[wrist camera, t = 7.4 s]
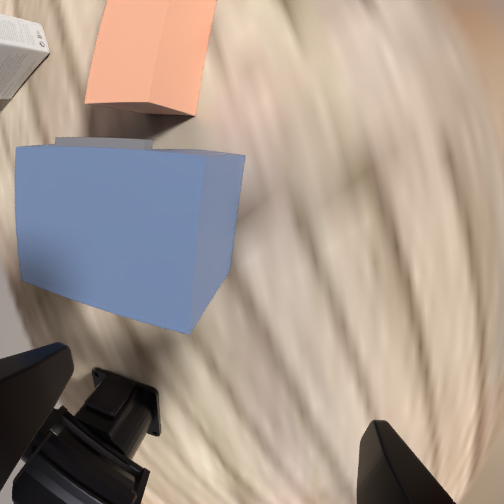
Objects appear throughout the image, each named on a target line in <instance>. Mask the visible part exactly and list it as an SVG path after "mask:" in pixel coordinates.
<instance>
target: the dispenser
mask: <svg viewBox="0 0 504 504" xmlns="http://www.w3.org/2000/svg"><path fill="white" fill-rule="evenodd" d="M152 145H153V140H147V139H129V138H101V137H56V139H55V144H48V145H33V146H21V147H16V156H15V218H16V234H17V246H18V256H19V264H20V272H21V279H22V281H24V282H27V283H29V284H32V285H34V286H37V287H40V288H42V289H45V290H47V291H50V292H53V293H55V294H58V295H61V296H64V297H66V298H69V299H72V300H75V301H78V302H81V303H84V304H87V305H90V306H93V307H96V308H99V309H102V310H105V311H108V312H111V313H114V314H117V315H121V316H124V317H127V318H130V319H134V320H137V321H140V322H144V323H147V324H151V325H154V326H158V327H162V328H165V329H169V330H173V331H176V332H180V333H184V334H188V335H190V333H191V331H192V330H193V328H194V327H195V325H196V323H197V322H198V320H199V319H200V317H201V315H202V314H203V312H204V311H205V309H206V307H207V306H208V304H209V303H210V301H211V300H212V298H213V296H214V295H215V293H216V292H217V290H218V288H219V287H220V285H221V284H222V282H223V281H224V279H225V277H226V276H227V274H228V273H229V271H230V265H231V257H232V249H233V242H234V234H235V227H236V219H237V212H238V205H239V197H240V190H241V183H242V176H243V169H244V162H245V155H238V154H231V153H223V152H215V151H206V150H190V149H152Z"/></svg>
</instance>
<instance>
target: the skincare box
mask: <svg viewBox="0 0 504 504" xmlns="http://www.w3.org/2000/svg"><path fill="white" fill-rule="evenodd" d="M49 53H50V51H49V47H48V43H47V40H46V37H45V34H44V31H43V28H42V25H41V24H39V23H35V22H31V21H27V20H23V19H19V18H16V17H11V16H7V15H3V14H0V99H11V98H12V97H13V95H14V94H15V93H16V91H17V90H18V89H19V87H20V86H21V85H22V84H23V83H24V81H25V80H26V79H27V78H28V77H29V75H30V74H31V73H32V72H33V71H34V70H35V68H36V67H37V66H38V65H39V64H40V63H41V62H42V61H43V59H44V58H45V57H46V56H47V55H48V54H49Z"/></svg>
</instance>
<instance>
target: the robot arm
mask: <svg viewBox="0 0 504 504" xmlns="http://www.w3.org/2000/svg"><path fill="white" fill-rule="evenodd" d="M73 371H74V364H73V360H72V355H71V350H70V348H69V347H68V346H67V345H64V344H62V343H59V342H57V343H53V344H50V345H47V346H43V347H40V348H36V349H33V350H30V351H26V352H23V353H20V354H16V355H13V356H9V357H6V358H2V359H0V491H1V489H2V488H3V486H4V484H5V483H6V481H7V479H8V478H9V476H10V474H11V473H12V471H13V469H14V468H15V466H16V465H17V463H18V461H19V460H20V459H21V460H23V461H24V462H25V463H26V464H25V465H24V467H23V468H22V469H21V470H20V472H19V473H18V474H17V476H16V477H15V479H14V481H13V487H12V501H13V502H14V504H141V500H142V497H143V494H144V490H145V487H146V484H147V481H148V477H149V474H150V471H149V470H147V469H146V468H143V467H141V466H140V465H138V464H136V463H135V462H133V461H132V458H133V457H134V455H135V453H136V451H137V449H138V448H139V446H140V444H141V442H142V440H143V439H144V437H145V435H146V433H148V434H151V435H154V436H160V434H161V424H160V410H159V394H158V391H157V390H156V389H154V388H151V387H148V386H145V385H142V384H139V383H136V382H134V381H131V380H128V379H125V378H122V377H120V376H117V375H114V374H112V373H109V372H107V371H104V370H101V369H99V368H95V369H94V370H93V371H92V375H93V380H94V384H95V390H94V391H93V392H92V393H91V394H90V396H89V397H88V398H87V399H86V400H85V403H84V405H83V406H82V407H81V408H80V410H79V411H78V412H77V413H76V414H75V416H73V415H72V414H71V413H69V412H68V411H67V410H68V409H66V408H65V407H64V406H63V405H62V406H61V407H60V408H59V409H54V406H55V405H56V403H57V401H58V399H59V397H60V396H61V394H62V392H63V390H64V388H65V386H66V385H67V383H68V381H69V379H70V377H71V376H72V374H73ZM53 432H55V433H56V434H57V435H58V436H57V435H56V434H54V433H53ZM357 504H456V503H455V502H453V499H452V498H451V497H450V496H449V495H448V493H447V492H446V491H445V490H444V489H443V487H442V486H441V485H440V484H439V483H438V481H437V480H436V479H435V478H434V477H433V475H432V474H431V473H430V472H429V471H428V469H427V468H426V467H425V466H424V465H423V464H422V462H421V461H420V460H419V459H418V458H417V456H416V455H415V454H414V453H413V452H412V450H411V449H410V448H409V447H408V446H407V444H406V443H405V442H404V441H403V440H402V438H401V437H400V436H399V435H398V434H397V432H396V431H395V430H394V429H393V428H392V426H391V425H390V424H389V423H388V422H387V421H385V420H373V421H371V423H370V424H369V426H368V428H367V429H366V431H365V433H364V435H363V436H362V438H361V441H360V450H359V465H358V478H357Z"/></svg>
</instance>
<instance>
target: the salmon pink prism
mask: <svg viewBox="0 0 504 504" xmlns="http://www.w3.org/2000/svg"><path fill="white" fill-rule="evenodd" d="M216 2H217V0H107V3H106V7H105V10H104V14H103V17H102V21H101V25H100V28H99V32H98V36H97V40H96V45H95V49H94V54H93V58H92V63H91V68H90V73H89V79H88V85H87V91H86V97H85V104H90V105H97V106H103V107H109V108H116V109H121V110H127V111H132V112H138V113H143V114H170V115H188V116H196V111H197V104H198V98H199V91H200V85H201V79H202V73H203V68H204V62H205V57H206V51H207V46H208V41H209V36H210V31H211V26H212V21H213V16H214V11H215V7H216Z"/></svg>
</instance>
